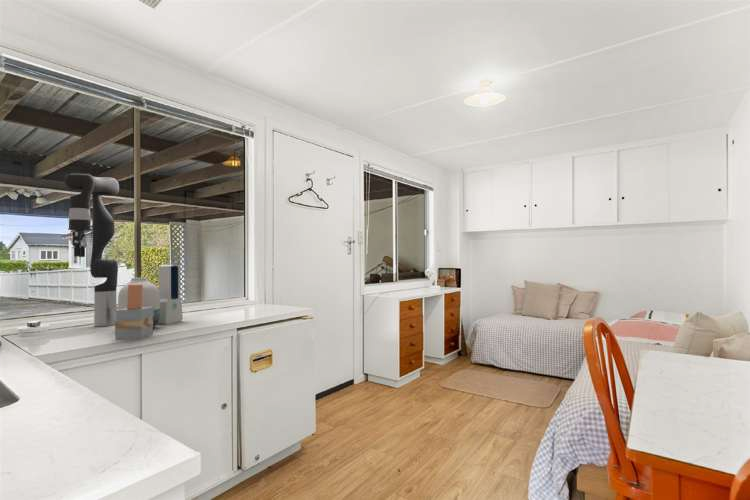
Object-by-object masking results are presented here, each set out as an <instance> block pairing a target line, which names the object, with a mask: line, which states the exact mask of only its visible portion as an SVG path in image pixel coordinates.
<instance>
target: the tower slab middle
mask: <svg viewBox="0 0 750 500" xmlns="http://www.w3.org/2000/svg"><path fill="white" fill-rule="evenodd" d="M114 326H115V328H114V329H115V330H135V329H143V328H146V327H150V326H153V316H152V317H149V318H145V319H138V320H115V325H114Z"/></svg>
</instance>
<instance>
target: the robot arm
mask: <svg viewBox="0 0 750 500" xmlns="http://www.w3.org/2000/svg"><path fill="white" fill-rule="evenodd" d="M63 183H64V185H65V187H66V188H67V189H69V190H71V191H81V192H80V193H78V194H73V195H70V196H69V212H68V230H69V231H72V247H73V248H74V249H73V255H74V257H78V258H85V257H86V248H87V236H88V235H87V234H86V233H85V232H87V231H88V232H89V231H91V232H92V235H91V236H92V239H91V240H92V242H91V243H92V246H91V256H90V268H89V269H90V270H89V271H90V275H91V277H92V278H94V279H96V278H97V279H99V278H100V279H102V278H103V279H106V280H105V281H104V282H102V283H100V284H96V285H95V286H94V290H93V291H94V297H93V299H94V300H93V302H94V303H93V304H94V306H93V307H94V308H93V309H94V310H93V314H94V319H93V323H94V324H93V326H94V327H109V326H115V320H116V310H118V304H117V287H118V276H119V275H118V274H119V273H118V271H119V265H118V262H117V260H115V259H111V258H110V259H105V258H104V259H102V258H103V252H104V250H105V248H106V246H107V245H108V244H109V243H110V242H111V240H112V239H113V237H114V235H115V221H114V218H113V217H112V215H111V213H110V212H109V211H108V210H107V209H106V207H105V205H104V203H103V200H102V199H103V198H102V196H108V197H109V196H113V197H114V196H117V195H118V194H119V192H120V184H119V182H118V179H116V178H113V177H109V176H108V177H104V176H102V177H100V176H92V175H91V174H89V173H67V174H66V175H65V177H64V179H63ZM91 198H92V199H91ZM91 200H92V201H91ZM91 202H92V216H91ZM91 217H92V218H91ZM91 219H92V221H91ZM91 222H92V224H91ZM91 227H92V228H91ZM91 229H92V230H91Z"/></svg>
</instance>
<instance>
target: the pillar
mask: <svg viewBox="0 0 750 500" xmlns="http://www.w3.org/2000/svg"><path fill="white" fill-rule="evenodd" d="M142 289H143V284H129V285H128V304H127V309H142Z"/></svg>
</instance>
